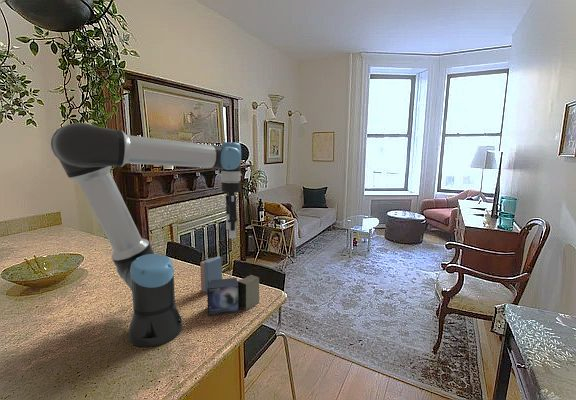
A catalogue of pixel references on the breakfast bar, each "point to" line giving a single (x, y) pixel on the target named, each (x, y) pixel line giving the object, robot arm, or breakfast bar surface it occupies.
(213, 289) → the small box
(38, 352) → the breakfast bar surface
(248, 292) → the bookend
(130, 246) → the robot arm
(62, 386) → the breakfast bar surface
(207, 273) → the standing books
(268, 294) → the breakfast bar surface
